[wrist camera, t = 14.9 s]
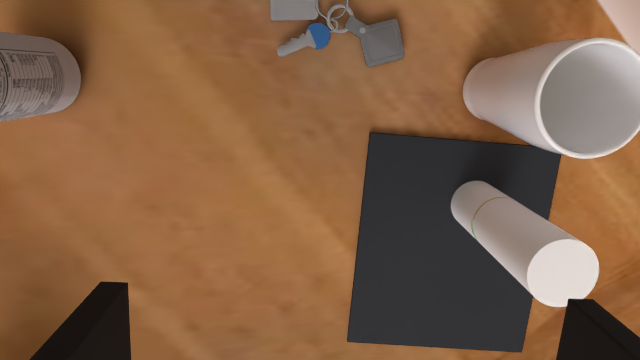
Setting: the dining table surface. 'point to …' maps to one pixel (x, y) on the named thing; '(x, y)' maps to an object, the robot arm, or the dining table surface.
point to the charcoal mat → (440, 244)
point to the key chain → (339, 31)
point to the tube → (526, 244)
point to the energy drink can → (35, 76)
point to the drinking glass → (561, 95)
